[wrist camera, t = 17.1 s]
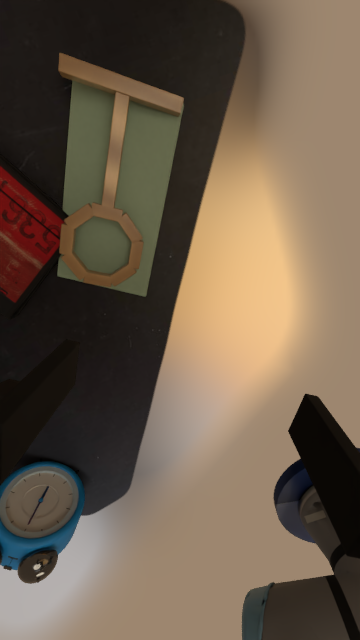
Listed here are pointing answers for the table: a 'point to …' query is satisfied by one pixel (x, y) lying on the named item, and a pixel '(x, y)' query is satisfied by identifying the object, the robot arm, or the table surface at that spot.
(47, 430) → the table surface
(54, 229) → the binder
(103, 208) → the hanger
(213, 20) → the table surface
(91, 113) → the mat
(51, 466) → the alarm clock
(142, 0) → the table surface
